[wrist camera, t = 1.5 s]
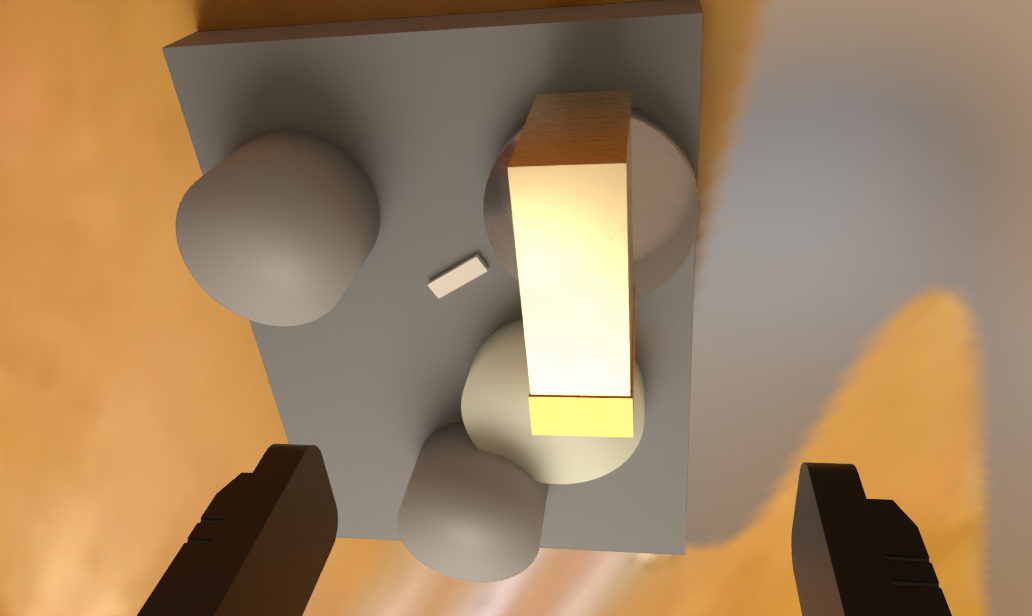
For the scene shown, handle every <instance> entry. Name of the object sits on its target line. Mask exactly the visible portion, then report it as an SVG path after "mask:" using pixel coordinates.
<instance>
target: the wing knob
mask: <svg viewBox="0 0 1032 616" xmlns="http://www.w3.org/2000/svg"><path fill="white" fill-rule="evenodd" d="M483 214H484V223H485V228H486V232H487V235H488V238H489V241H490V244H491V246H492V248H493V250H494V252H495V254H496V256H497V257H498V259H499V260H500V262H501V263H502V265H503V266H504V267H505V268H506V269H507V270H508V272H509V273H510V274H511V275H512V276H513V277H514V278H515V279H517V280H518V281H519V285H520V295H521V305H522V314H523V324H524V334H525V344H526V354H527V363H528V373H529V383H530V392H529V406H530V416H531V426H532V435H569V436H608V437H633V416H634V372H635V329H636V314H635V300H636V299H639V298H641V297H643V296H645V295H647V294H649V293H651V292H652V291H654V290H656V289H657V288H658V287H660V286H661V285H662V284H664V283H665V282H666V281H667V280H668V279H669V278H670V277H671V276H672V275H673V274H674V273H675V272H676V271H677V270H678V269H679V267H680V266H681V265H682V264H683V262H684V260H685V259H686V257H687V255H688V254H689V252H690V250H691V247H692V245H693V242H694V240H695V236H696V232H697V228H698V221H699V200H698V192H697V185H696V180H695V175H694V171H693V168H692V165H691V163H690V160H689V158H688V156H687V154H686V152H685V150H684V149H683V147H682V146H681V144H680V143H679V142H678V140H677V139H676V138H675V137H674V135H673V134H672V133H671V132H670V131H669V130H668V129H667V128H666V127H665V126H663V125H662V124H661V123H660V122H658V121H657V120H656V119H654V118H653V117H651V116H649V115H648V114H646V113H644V112H643V111H640V110H638V109H636V108H633V107H631V90H616V91H596V92H575V93H555V94H537V95H536V98H535V100H534V102H533V105H532V107H531V110H530V112H529V115H528V117H527V120H526V122H525V123H524V124H522V125H521V126H520V127H519V128H518V129H517V130H516V131H515V132H514V133H513V134H512V135H511V137H510V138H509V139H508V140H507V142H506V143H505V144H504V146H503V148H502V149H501V151H500V153H499V155H498V157H497V159H496V161H495V163H494V166H493V168H492V170H491V173H490V175H489V178H488V181H487V184H486V188H485V193H484V202H483Z"/></svg>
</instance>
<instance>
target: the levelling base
mask: <svg viewBox="0 0 1032 616" xmlns="http://www.w3.org/2000/svg"><path fill="white" fill-rule="evenodd" d="M702 28H703V11H702V8H701V4H700V1H699V0H658V1H644V2H629V3H614V4H599V5H585V6H570V7H555V8H541V9H526V10H511V11H496V12H482V13H467V14H452V15H438V16H423V17H408V18H393V19H379V20H364V21H349V22H334V23H320V24H305V25H290V26H276V27H261V28H246V29H231V30H217V31H202V32H195V33H193V34H191V35H189V36H187V37H184V38H182V39H180V40H178V41H176V42H174V43H172V44H169V45H167V46H165V47H163V48H162V49H163V52H164V56H165V59H166V62H167V65H168V68H169V71H170V74H171V77H172V81H173V84H174V87H175V90H176V93H177V96H178V99H179V102H180V105H181V109H182V112H183V115H184V118H185V121H186V124H187V127H188V130H189V133H190V137H191V140H192V143H193V146H194V149H195V152H196V155H197V158H198V161H199V165H200V168H201V171H202V174H203V176H202V177H201V178H200V179H199V180H197V181H196V182H195V183H194V184H193V185H192V186H191V187H190V188H189V189H188V191H187V192H186V193H185V195H184V196H183V198H182V200H181V202H180V205H179V208H178V211H177V217H176V236H177V243H178V246H179V250H180V253H181V255H182V258H183V260H184V262H185V264H186V266H187V268H188V270H189V271H190V273H191V274H192V276H193V277H194V279H195V280H196V281H197V283H198V284H199V285H200V286H201V287H202V288H203V289H204V291H205V292H207V293H208V294H209V295H210V296H211V297H212V298H213V299H214V300H216V301H217V302H218V303H219V304H221V305H222V306H224V307H225V308H227V309H228V310H230V311H231V312H233V313H235V314H237V315H239V316H241V317H244V318H246V319H249V320H250V323H251V326H252V330H253V333H254V336H255V339H256V342H257V345H258V348H259V351H260V354H261V358H262V361H263V364H264V367H265V370H266V373H267V376H268V379H269V382H270V386H271V389H272V392H273V395H274V398H275V401H276V404H277V407H278V410H279V414H280V417H281V420H282V423H283V426H284V429H285V432H286V435H287V439H288V442H289V444H294V445H316V446H317V447H318V448H319V449H320V451H321V453H322V456H323V460H324V464H325V467H326V471H327V474H328V478H329V481H330V485H331V488H332V492H333V495H334V499H335V502H336V506H337V511H338V528H337V534H336V537H338V538H358V539H377V540H397V541H402V542H403V544H404V545H405V546H406V548H407V549H408V550H409V552H410V553H411V554H412V555H413V556H414V557H415V558H416V559H418V560H419V561H420V562H421V563H423V564H424V565H425V566H427V567H429V568H431V569H432V570H434V571H436V572H438V573H440V574H443V575H445V576H448V577H451V578H455V579H458V580H464V581H470V582H494V581H500V580H504V579H508V578H511V577H513V576H515V575H517V574H519V573H521V572H522V571H524V570H525V569H526V568H528V567H529V566H530V565H531V563H532V562H533V561H534V559H535V558H536V556H537V554H538V551H539V548H555V549H574V550H594V551H614V552H633V553H653V554H673V555H685V534H686V505H687V474H688V445H689V415H690V385H691V356H692V353H691V352H692V325H693V324H692V323H693V296H694V266H695V240H694V242H693V245H692V247H691V250H690V252H689V254H688V255H687V257H686V259H685V260H684V262H683V264H682V265H681V266H680V267H679V269H678V270H677V271H676V272H675V273H674V274H673V275H672V276H671V277H670V278H669V279H668V280H667V281H666V282H665V283H664V284H662V285H661V286H660V287H658V288H657V289H656V290H654V291H652V292H651V293H649V294H647V295H645V296H643V297H641V298H639V299H636V300H635V314H636V329H635V372H634V416H633V437H608V436H569V435H532V426H531V416H530V406H529V392H530V383H529V373H528V363H527V354H526V344H525V334H524V324H523V314H522V305H521V295H520V285H519V281H518V280H517V279H515V278H514V277H513V276H512V275H511V274H510V273H509V272H508V270H507V269H506V268H505V267H504V266H503V265H502V263H501V262H500V260H499V259H498V257H497V256H496V254H495V252H494V250H493V248H492V246H491V244H490V241H489V238H488V235H487V232H486V228H485V223H484V214H483V202H484V193H485V188H486V184H487V181H488V178H489V175H490V173H491V170H492V168H493V166H494V163H495V161H496V159H497V157H498V155H499V153H500V151H501V149H502V148H503V146H504V144H505V143H506V142H507V140H508V139H509V138H510V137H511V135H512V134H513V133H514V132H515V131H516V130H517V129H518V128H519V127H520V126H521V125H522V124H524V123H525V122H526V120H527V117H528V115H529V112H530V110H531V107H532V105H533V102H534V100H535V98H536V95H537V94H555V93H575V92H596V91H616V90H631V107H633V108H636V109H638V110H640V111H643V112H644V113H646V114H648V115H649V116H651V117H653V118H654V119H656V120H657V121H658V122H660V123H661V124H662V125H663V126H665V127H666V128H667V129H668V130H669V131H670V132H671V133H672V134H673V135H674V137H675V138H676V139H677V140H678V142H679V143H680V144H681V146H682V147H683V149H684V150H685V152H686V154H687V156H688V158H689V160H690V163H691V165H692V168H693V171H694V175H695V180H696V185H697V177H698V147H699V117H700V87H701V58H702Z"/></svg>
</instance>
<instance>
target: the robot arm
mask: <svg viewBox="0 0 1032 616" xmlns="http://www.w3.org/2000/svg"><path fill="white" fill-rule="evenodd" d="M337 528H338V511H337V506H336V502H335V499H334V495H333V492H332V488H331V485H330V481H329V478H328V474H327V471H326V467H325V464H324V460H323V456H322V453H321V451H320V449H319V448H318V447H317V446H316V445H294V444H273V445H271V446H270V447H269V448H268V449H267V451H266V452H265V454H264V455H263V457H262V459H261V460H260V462H259V463H258V465H257V467H256V468H255V470H254V472H253V473H241V474H240V475H238V476H237V477H236V478H235V479H234V480H232V481H231V482H230V483H229V484H228V485H226V486H225V487H224V488H223V489H222V490H220V491H219V492H218V493H217V494H216V496H215V497H214V499H213V500H212V502H211V503H210V505H209V506H208V508H207V509H206V511H205V512H204V514H203V515H202V517H201V522H200V523H197V525H196V526H195V528H194V529H193V531H192V532H191V534H190V535H189V537H188V542H187V543H184V544H183V546H182V547H181V549H180V551H179V552H178V554H177V555H176V557H175V558H174V560H173V561H172V563H171V564H170V566H169V567H168V569H167V570H166V572H165V573H164V575H163V577H162V578H161V580H160V581H159V583H158V584H157V586H156V587H155V589H154V590H153V592H152V593H151V595H150V596H149V598H148V599H147V601H146V603H145V604H144V606H143V607H142V609H141V610H140V612H139V613H138V615H137V616H302V615H303V613H304V610H305V608H306V606H307V604H308V601H309V599H310V597H311V594H312V592H313V590H314V588H315V585H316V583H317V581H318V579H319V576H320V574H321V572H322V570H323V567H324V565H325V563H326V561H327V558H328V556H329V554H330V552H331V549H332V547H333V545H334V542H335V539H336V534H337ZM792 562H793V570H794V575H795V580H796V585H797V591H798V596H799V601H800V606H801V611H802V616H952V615H951V612H950V610H949V607H948V605H947V602H946V599H945V597H944V594H943V592H942V589H941V588H939V581H938V579H937V576H936V573H935V571H934V568H933V566H932V563H930V562H929V555H928V553H927V550H926V548H925V545H924V542H923V540H922V537H921V535H920V532H919V530H918V527H917V526H916V525H915V524H914V523H913V521H912V520H911V519H910V518H909V517H908V516H907V515H906V514H905V513H904V512H903V511H902V510H901V509H900V507H899V506H898V505H897V504H896V503H895V502H894V501H893V500H881V499H866V496H865V493H864V490H863V487H862V484H861V480H860V477H859V474H858V472H857V469H856V467H855V466H854V465H853V464H835V463H802V465H801V469H800V475H799V482H798V490H797V497H796V505H795V512H794V520H793V527H792Z"/></svg>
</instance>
